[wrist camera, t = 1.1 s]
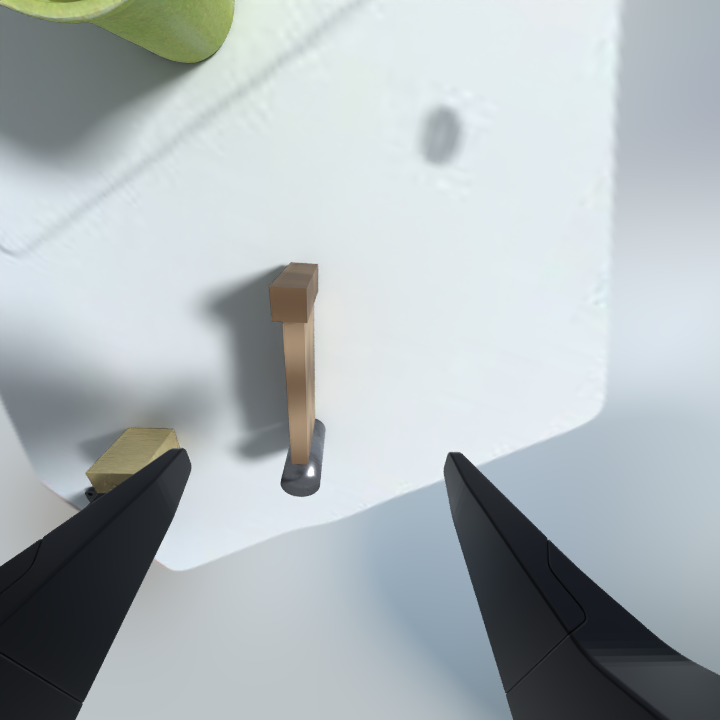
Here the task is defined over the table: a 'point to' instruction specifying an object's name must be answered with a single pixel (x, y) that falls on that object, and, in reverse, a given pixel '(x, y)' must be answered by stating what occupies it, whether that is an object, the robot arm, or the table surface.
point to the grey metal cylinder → (305, 467)
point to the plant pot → (145, 22)
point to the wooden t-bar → (298, 350)
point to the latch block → (129, 456)
